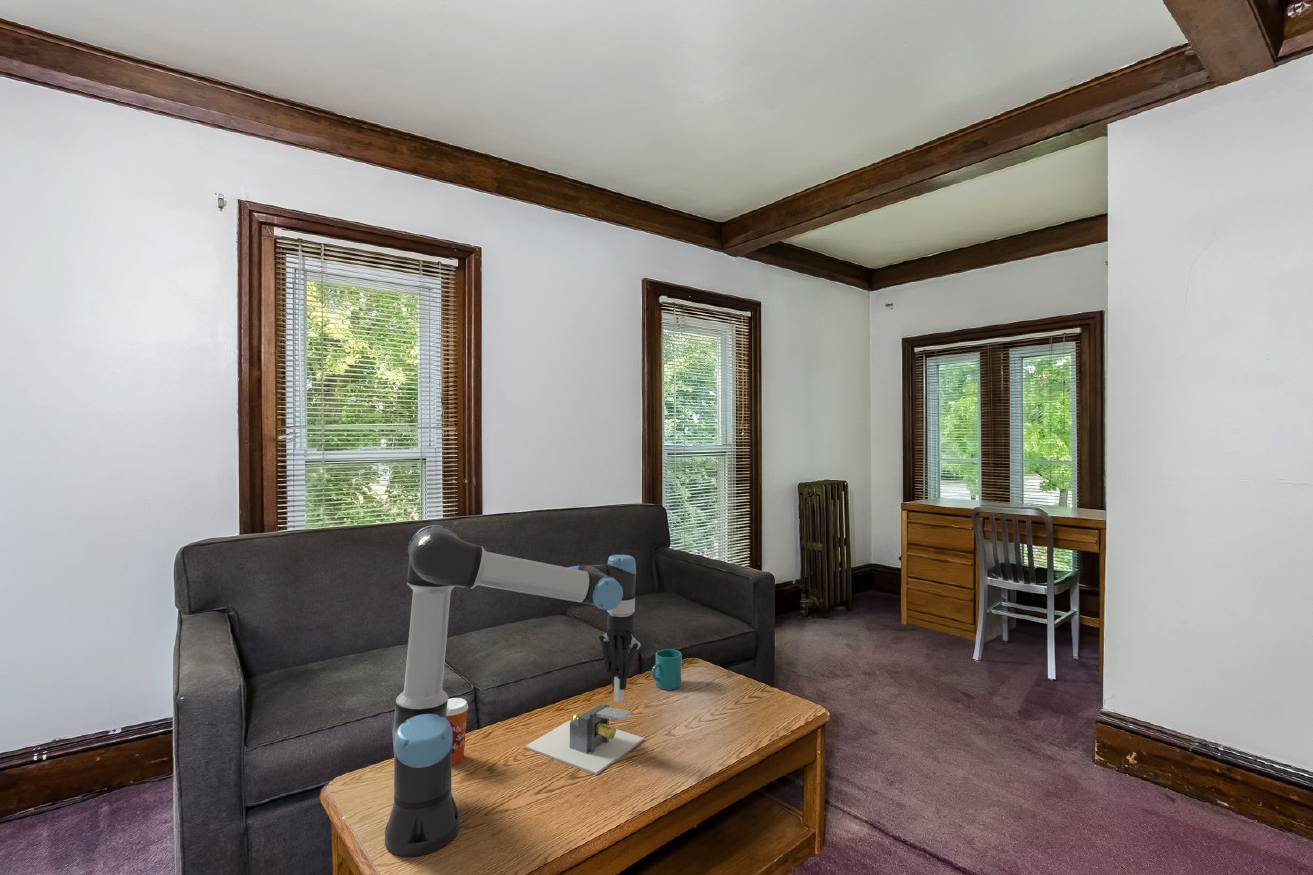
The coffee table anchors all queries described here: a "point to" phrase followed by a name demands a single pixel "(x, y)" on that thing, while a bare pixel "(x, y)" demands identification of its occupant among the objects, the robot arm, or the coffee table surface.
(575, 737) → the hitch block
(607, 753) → the mat
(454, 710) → the coffee cup
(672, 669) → the cup
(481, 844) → the coffee table surface
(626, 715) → the grey flat brushed plate
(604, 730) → the pin
